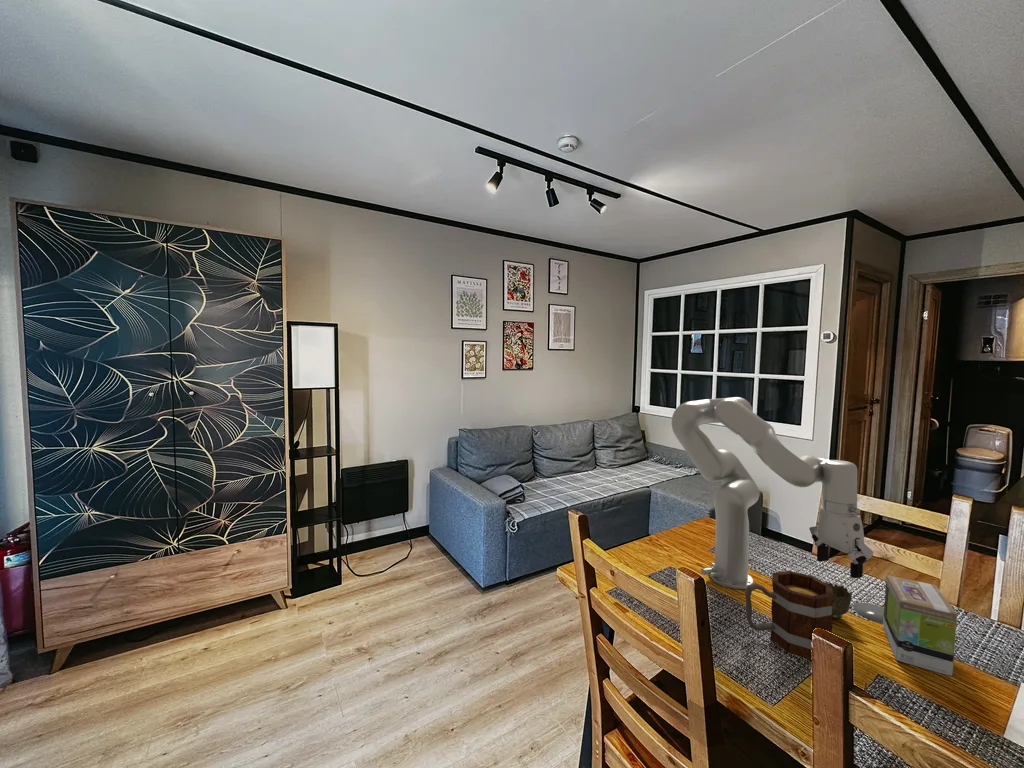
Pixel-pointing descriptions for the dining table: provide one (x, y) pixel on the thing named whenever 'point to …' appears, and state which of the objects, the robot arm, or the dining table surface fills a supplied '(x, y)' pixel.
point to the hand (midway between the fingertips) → (838, 568)
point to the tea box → (919, 624)
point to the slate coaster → (870, 611)
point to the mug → (795, 610)
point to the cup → (840, 601)
